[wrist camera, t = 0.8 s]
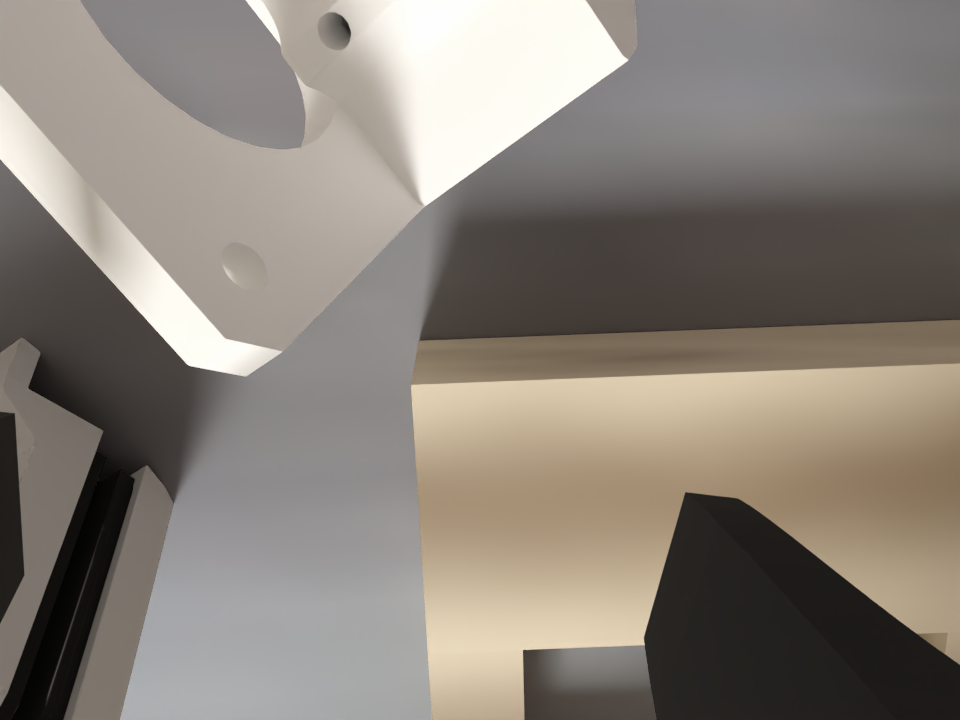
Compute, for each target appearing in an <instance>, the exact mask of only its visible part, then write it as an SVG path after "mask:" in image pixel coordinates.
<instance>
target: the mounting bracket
mask: <svg viewBox="0 0 960 720" xmlns="http://www.w3.org/2000/svg"><path fill="white" fill-rule="evenodd" d="M246 1H247V2H248V4H249V5H250V6H251V8H252V9H253V10H254V11H255V13H256V14H257V15H258V17H259V18H260V19H261V20H262V22H263V23H264V24H265V26H266V27H267V28H268V29H269V31H270V32H271V33H272V35H273V36H274V37H275V38H276V40H277V41H278V42H279V44H280V45H281V54H282V56H283V58H284V59H285V60H286V61H287V63H288V64H289V65H290V66H291V68H292V69H293V70H294V72H295V74H296V77H297V80H298V83H299V86H300V89H301V91H302V95H303V101H304V107H305V113H306V123H305V136H304V139H303V142H302V145H301V147H300V148H293V149H286V150H279V149H271V148H263V147H257V146H254V145H251V144H248V143H245V142H242V141H239V140H236V139H233V138H230V137H227V136H225V135H223V134H221V133H220V132H218V131H216V130H214V129H212V128H210V127H208V126H206V125H204V124H202V123H200V122H198V121H197V120H195V119H194V118H192V117H191V116H189V115H188V114H187V113H185V112H184V111H182V110H181V109H179V108H178V107H177V106H175V105H174V104H172V103H171V102H169V101H168V100H167V99H165V98H164V97H163V96H162V95H161V94H159V93H158V92H157V91H156V90H155V89H154V88H153V87H152V86H151V85H149V84H148V83H147V82H146V81H145V80H144V79H143V78H142V77H140V76H139V75H138V74H137V73H136V72H135V71H134V70H133V69H132V68H131V67H130V66H129V65H128V63H127V62H126V61H125V60H124V59H123V58H122V57H121V56H120V54H119V53H118V52H117V51H116V50H115V49H114V48H113V46H112V45H111V44H110V43H109V42H108V41H107V40H106V39H105V37H104V36H103V34H102V33H101V31H100V30H99V28H98V27H97V25H96V24H95V22H94V21H93V19H92V18H91V16H90V15H89V14H88V12H87V11H86V9H85V8H84V6H83V5H82V3H81V1H80V0H0V159H1V160H2V161H3V163H4V164H5V165H6V166H7V167H8V168H9V169H10V170H11V171H12V172H13V174H14V175H15V176H16V177H17V178H18V179H19V180H20V181H21V182H22V183H23V185H24V186H25V187H26V188H27V189H28V190H29V191H30V192H31V193H32V194H33V196H34V197H35V198H36V199H37V200H38V201H39V202H40V203H41V204H42V205H43V207H44V208H45V209H46V210H47V211H48V212H49V213H50V214H51V215H52V216H53V218H54V219H55V220H56V221H57V222H58V223H59V224H60V225H61V226H62V227H63V229H64V230H65V231H66V232H67V233H68V234H69V235H70V236H71V237H72V238H73V240H74V241H75V242H76V243H77V244H78V245H79V246H80V247H81V248H82V249H83V250H84V252H85V253H86V254H87V255H88V256H89V257H90V258H91V259H92V260H93V261H94V263H95V264H96V265H97V266H98V267H99V268H100V269H101V270H102V271H103V272H104V274H105V275H106V276H107V277H108V278H109V279H110V280H111V281H112V282H113V283H114V285H115V286H116V287H117V288H118V289H119V290H120V291H121V292H122V293H123V294H124V296H125V297H126V298H127V299H128V300H129V301H130V302H131V303H132V304H133V305H134V307H135V308H136V309H137V310H138V311H139V312H140V313H141V314H142V315H143V316H144V318H145V319H146V320H147V321H148V322H149V323H150V324H151V325H152V326H153V327H154V329H155V330H156V331H157V332H158V333H159V334H160V335H161V336H162V337H163V338H164V340H165V341H166V342H167V343H168V344H169V345H170V346H171V347H172V348H173V349H174V351H175V352H176V353H177V354H178V355H179V356H180V357H181V358H182V359H183V360H184V362H185V363H186V364H187V365H188V366H192V367H198V368H203V369H208V370H214V371H219V372H224V373H229V374H235V375H240V376H245V377H246V376H248V375H249V374H250V373H252V372H253V371H255V370H256V369H258V368H259V367H261V366H262V365H264V364H265V363H267V362H268V361H270V360H271V359H273V358H274V357H276V356H277V355H279V354H280V353H282V352H283V351H284V350H285V349H286V348H287V347H288V346H289V345H290V344H291V343H292V342H293V341H294V340H295V339H296V338H297V337H298V336H299V335H300V334H301V333H302V332H303V331H304V330H305V329H306V328H307V327H308V326H309V325H310V323H311V322H312V321H313V320H314V319H315V318H316V317H317V316H318V315H319V314H320V313H321V312H322V311H323V310H324V309H325V308H326V307H327V306H328V305H329V304H330V303H331V302H332V301H333V300H334V299H335V298H336V297H337V296H338V295H339V294H340V293H341V292H342V291H343V290H344V289H345V288H346V287H347V286H348V285H349V284H350V283H351V282H352V281H353V280H354V279H355V277H356V276H357V275H358V274H359V273H360V272H361V271H362V270H363V269H364V268H365V267H366V266H367V265H368V264H369V263H370V262H371V261H372V260H373V259H374V258H375V257H376V256H377V255H378V254H379V253H380V252H381V251H382V250H383V249H384V248H385V247H386V246H387V245H388V244H389V243H390V242H391V241H392V240H393V239H394V238H395V237H396V236H397V235H398V234H399V233H400V232H401V230H402V229H403V228H404V227H405V226H406V225H407V224H408V223H409V222H410V221H411V220H412V219H413V218H414V217H415V216H416V215H417V214H418V213H419V212H420V211H421V210H422V209H423V208H424V207H425V206H426V205H428V204H429V203H430V202H432V201H433V200H435V199H436V198H437V197H439V196H440V195H442V194H443V193H444V192H446V191H447V190H448V189H450V188H451V187H453V186H454V185H455V184H457V183H458V182H460V181H461V180H462V179H464V178H465V177H467V176H468V175H469V174H471V173H472V172H474V171H475V170H476V169H478V168H479V167H480V166H482V165H483V164H485V163H486V162H487V161H489V160H490V159H492V158H493V157H494V156H496V155H497V154H499V153H500V152H501V151H503V150H504V149H506V148H507V147H508V146H510V145H511V144H513V143H514V142H515V141H517V140H518V139H519V138H521V137H522V136H524V135H525V134H526V133H528V132H529V131H531V130H532V129H533V128H535V127H536V126H538V125H539V124H540V123H542V122H543V121H545V120H546V119H547V118H549V117H550V116H552V115H553V114H554V113H556V112H557V111H558V110H560V109H561V108H563V107H564V106H565V105H567V104H568V103H570V102H571V101H572V100H574V99H575V98H577V97H578V96H579V95H581V94H582V93H584V92H585V91H586V90H588V89H589V88H590V87H592V86H593V85H595V84H596V83H597V82H599V81H600V80H602V79H603V78H604V77H606V76H607V75H609V74H610V73H611V72H613V71H614V70H616V69H617V68H618V67H620V66H621V65H623V64H624V63H625V62H627V61H628V60H629V59H630V58H631V56H632V55H633V53H634V52H635V51H636V49H637V48H638V41H637V25H636V10H635V0H246Z"/></svg>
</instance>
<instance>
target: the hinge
mask: <svg viewBox="0 0 960 720" xmlns="http://www.w3.org/2000/svg"><path fill="white" fill-rule="evenodd" d="M40 354H41V352H39V351H38V350H37V349H36V348H35V347H33V346H32V345H31V344H30V343H29V342H28V341H26V340H25V339H24V338H20V339H19V340H17V341H16V342H15V343H13V344H12V345H10V346H9V347H8V348H6V349H5V350H3V351H2V352H1V353H0V412H8V413H15V423H16V440H17V456H18V473H19V490H20V507H21V523H22V540H23V557H24V574H25V575H24V577H23V579H22V581H21V583H20V585H19V587H18V589H17V591H16V593H15V595H14V597H13V599H12V601H11V603H10V605H9V607H8V609H7V611H6V613H5V615H4V617H3V619H2V621H1V623H0V720H120V716H121V712H122V708H123V704H124V700H125V696H126V692H127V688H128V684H129V680H130V676H131V672H132V668H133V664H134V660H135V656H136V652H137V648H138V644H139V640H140V636H141V632H142V628H143V624H144V620H145V616H146V612H147V608H148V604H149V600H150V596H151V592H152V588H153V584H154V580H155V576H156V572H157V568H158V564H159V560H160V556H161V552H162V548H163V544H164V540H165V536H166V532H167V528H168V524H169V520H170V516H171V512H172V508H173V504H174V503H173V502H172V500H171V498H170V496H169V494H168V492H167V490H166V488H165V486H164V485H163V484H162V483H161V481H160V480H159V479H158V478H157V477H156V475H155V474H154V473H153V472H152V470H151V469H150V468H149V467H148V465H146V466H145V467H143V468H141V469H140V470H138V471H137V472H135V473H133V474H132V475H129V474H127V473H126V472H125V471H123V470H122V469H121V470H119V471H118V472H116V473H115V474H113V475H112V476H110V477H109V478H107V479H106V480H104V481H103V482H101V483H100V484H98V485H97V486H96V484H97V481H98V478H99V475H100V473H101V470H102V467H103V464H104V461H105V458H106V457H105V456H104V455H102V454H101V453H100V452H99V451H97V447H98V444H99V442H100V439H101V436H102V433H103V430H101V429H99V428H98V427H96V426H94V425H92V424H90V423H89V422H87V421H85V420H83V419H81V418H80V417H78V416H76V415H74V414H72V413H71V412H69V411H67V410H65V409H64V408H62V407H60V406H58V405H56V404H55V403H53V402H51V401H49V400H47V399H46V398H44V397H42V396H40V395H38V394H37V393H35V392H33V391H31V390H29V389H28V387H29V384H30V381H31V379H32V376H33V373H34V370H35V368H36V365H37V362H38V359H39V357H40Z"/></svg>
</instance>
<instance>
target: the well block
mask: <svg viewBox="0 0 960 720" xmlns="http://www.w3.org/2000/svg"><path fill="white" fill-rule="evenodd" d="M411 391H412V407H413V423H414V439H415V455H416V471H417V487H418V503H419V519H420V535H421V551H422V567H423V583H424V599H425V615H426V631H427V647H428V663H429V679H430V695H431V711H432V720H524V680H523V650H535V649H560V648H584V647H608V646H633V645H645V643H644V635H645V631H646V628H647V624H648V621H649V617H650V614H651V610H652V607H653V603H654V600H655V596H656V593H657V589H658V586H659V582H660V579H661V575H662V572H663V568H664V565H665V561H666V558H667V554H668V551H669V547H670V544H671V540H672V537H673V533H674V530H675V526H676V523H677V519H678V516H679V512H680V509H681V505H682V502H683V498H684V495H685V492H688V493H697V494H705V495H714V496H722V497H731V498H738V499H740V500H742V501H743V502H745V503H746V504H748V505H750V506H751V507H753V508H754V509H755V510H757V511H758V512H760V513H761V514H763V515H764V516H765V517H767V518H768V519H769V520H771V521H772V522H773V523H775V524H776V525H777V526H779V527H780V528H781V529H783V530H784V531H785V532H786V533H788V534H789V535H790V536H792V537H793V538H794V539H795V540H797V541H798V542H799V543H801V544H802V545H803V546H804V547H806V548H807V549H808V550H809V551H811V552H812V553H813V554H814V555H816V556H817V557H818V558H819V559H821V560H822V561H823V562H824V563H826V564H827V565H828V566H830V567H831V568H832V569H833V570H835V571H836V572H837V573H838V574H840V575H841V576H842V577H843V578H845V579H846V580H847V581H849V582H850V583H851V584H852V585H854V586H855V587H856V588H857V589H859V590H860V591H861V592H863V593H864V594H865V595H866V596H868V597H869V598H870V599H872V600H873V601H874V602H875V603H877V604H878V605H879V606H881V607H882V608H883V609H885V610H886V611H887V612H888V613H890V614H891V615H892V616H894V617H895V618H896V619H898V620H899V621H900V622H902V623H903V624H904V625H906V626H907V627H908V628H910V629H911V630H912V631H914V632H915V633H916V634H918V635H919V636H920V637H922V638H923V639H924V640H926V641H927V642H929V643H930V644H931V645H933V646H934V647H936V648H937V649H938V650H940V651H941V652H943V653H944V654H945V655H947V656H948V657H950V658H951V659H952V660H954V661H955V662H957V663H958V664H959V665H960V320H942V321H916V322H891V323H865V324H839V325H813V326H787V327H761V328H736V329H710V330H684V331H658V332H632V333H606V334H580V335H555V336H529V337H503V338H477V339H451V340H425V341H419V343H418V349H417V355H416V360H415V366H414V371H413V377H412V383H411Z"/></svg>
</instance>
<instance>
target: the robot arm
mask: <svg viewBox="0 0 960 720" xmlns="http://www.w3.org/2000/svg"><path fill="white" fill-rule="evenodd" d="M24 575H25V574H24V557H23V540H22V523H21V507H20V490H19V473H18V456H17V440H16V423H15V413H8V412H0V623H1V621H2V619H3V617H4V615H5V613H6V611H7V609H8V607H9V605H10V603H11V601H12V599H13V597H14V595H15V593H16V591H17V589H18V587H19V585H20V583H21V581H22V579H23V577H24ZM644 643H645V650H646V657H647V664H648V670H649V677H650V684H651V689H652V695H653V700H654V706H655V712H656V717H657V720H960V665H959V664H958V663H957V662H955V661H954V660H952V659H951V658H950V657H948V656H947V655H945V654H944V653H943V652H941V651H940V650H938V649H937V648H936V647H934V646H933V645H931V644H930V643H929V642H927V641H926V640H924V639H923V638H922V637H920V636H919V635H918V634H916V633H915V632H914V631H912V630H911V629H910V628H908V627H907V626H906V625H904V624H903V623H902V622H900V621H899V620H898V619H896V618H895V617H894V616H892V615H891V614H890V613H888V612H887V611H886V610H885V609H883V608H882V607H881V606H879V605H878V604H877V603H875V602H874V601H873V600H872V599H870V598H869V597H868V596H866V595H865V594H864V593H863V592H861V591H860V590H859V589H857V588H856V587H855V586H854V585H852V584H851V583H850V582H849V581H847V580H846V579H845V578H843V577H842V576H841V575H840V574H838V573H837V572H836V571H835V570H833V569H832V568H831V567H830V566H828V565H827V564H826V563H824V562H823V561H822V560H821V559H819V558H818V557H817V556H816V555H814V554H813V553H812V552H811V551H809V550H808V549H807V548H806V547H804V546H803V545H802V544H801V543H799V542H798V541H797V540H795V539H794V538H793V537H792V536H790V535H789V534H788V533H786V532H785V531H784V530H783V529H781V528H780V527H779V526H777V525H776V524H775V523H773V522H772V521H771V520H769V519H768V518H767V517H765V516H764V515H763V514H761V513H760V512H758V511H757V510H755V509H754V508H753V507H751V506H750V505H748V504H746V503H745V502H743V501H742V500H740V499H738V498H731V497H722V496H714V495H705V494H697V493H688V492H685V495H684V498H683V502H682V505H681V509H680V512H679V516H678V519H677V523H676V526H675V530H674V533H673V537H672V540H671V544H670V547H669V551H668V554H667V558H666V561H665V565H664V568H663V572H662V575H661V579H660V582H659V586H658V589H657V593H656V596H655V600H654V603H653V607H652V610H651V614H650V617H649V621H648V624H647V628H646V631H645V635H644Z"/></svg>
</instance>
